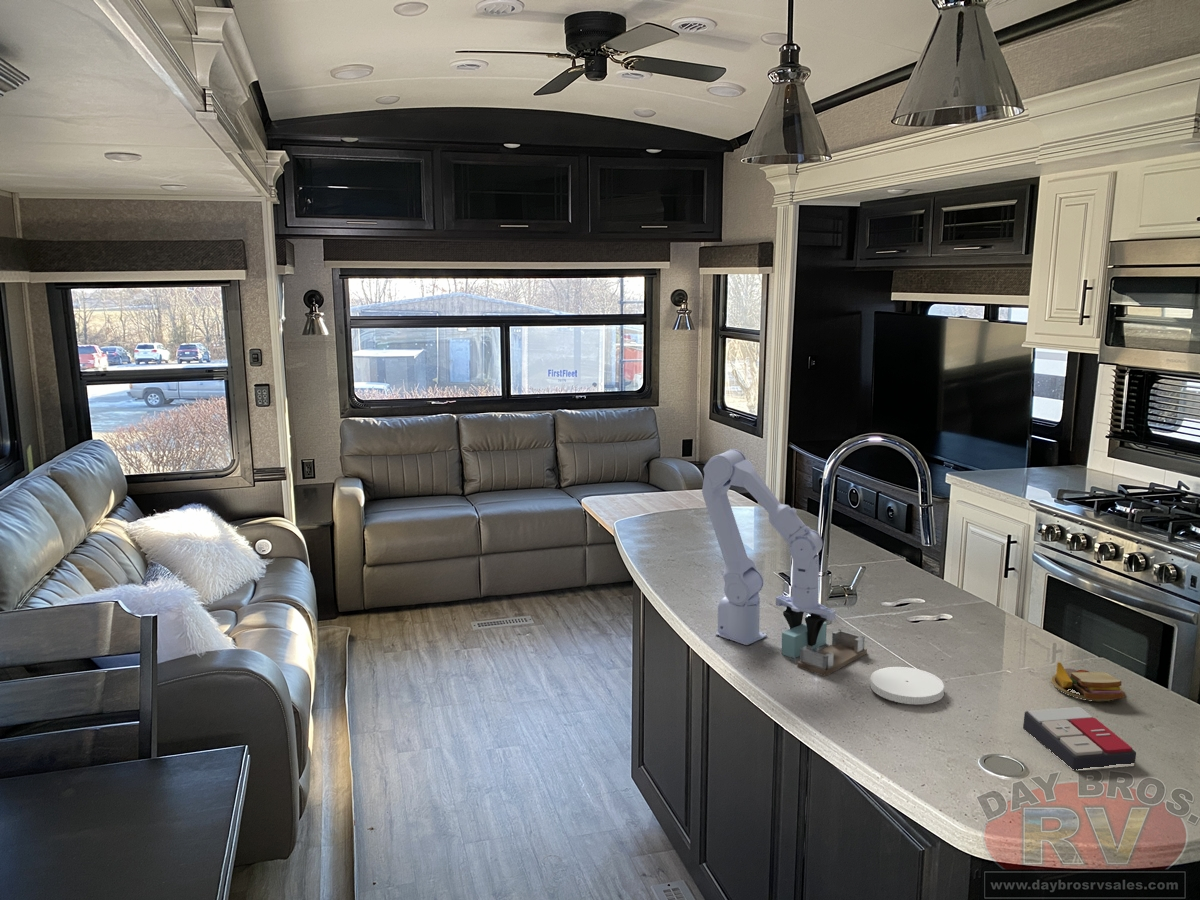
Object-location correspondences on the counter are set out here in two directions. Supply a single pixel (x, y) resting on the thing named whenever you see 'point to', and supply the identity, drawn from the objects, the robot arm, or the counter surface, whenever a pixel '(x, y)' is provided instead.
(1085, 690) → the toy sandwich meal
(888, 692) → the plastic lid
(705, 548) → the counter surface
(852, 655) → the end cap board
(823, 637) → the teal rectangular block
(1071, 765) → the calculator
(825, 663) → the end caps
